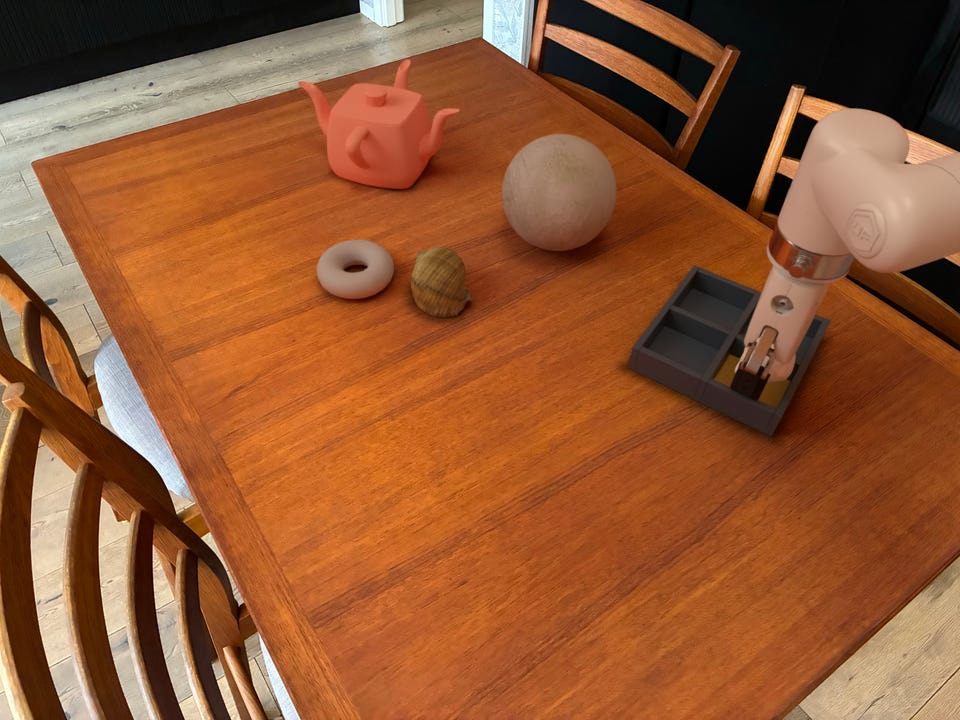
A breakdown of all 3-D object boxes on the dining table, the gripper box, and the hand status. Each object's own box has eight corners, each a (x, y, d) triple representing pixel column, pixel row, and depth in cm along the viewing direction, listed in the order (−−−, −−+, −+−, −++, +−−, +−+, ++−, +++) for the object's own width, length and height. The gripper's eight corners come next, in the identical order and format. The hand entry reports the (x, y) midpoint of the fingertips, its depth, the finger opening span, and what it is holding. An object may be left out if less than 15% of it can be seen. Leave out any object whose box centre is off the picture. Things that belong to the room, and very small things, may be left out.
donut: (354, 245, 100) (302, 283, 94) (351, 224, 98) (297, 262, 92) (410, 273, 96) (359, 315, 91) (409, 253, 94) (356, 295, 88)
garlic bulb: (715, 376, 81) (728, 342, 77) (752, 353, 84) (766, 320, 80) (753, 407, 78) (768, 375, 74) (790, 383, 81) (807, 350, 77)
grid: (820, 341, 89) (831, 320, 86) (771, 437, 79) (781, 417, 76) (687, 285, 95) (694, 264, 92) (627, 367, 85) (632, 347, 83)
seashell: (464, 328, 95) (497, 277, 93) (440, 331, 89) (475, 276, 86) (410, 286, 98) (440, 236, 95) (383, 285, 91) (415, 231, 89)
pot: (418, 125, 121) (414, 51, 111) (461, 180, 110) (460, 104, 101) (310, 150, 115) (296, 75, 106) (344, 211, 105) (331, 133, 96)
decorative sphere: (536, 287, 94) (544, 191, 83) (481, 224, 103) (482, 129, 92) (629, 253, 99) (649, 157, 88) (569, 195, 108) (581, 101, 97)
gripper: (825, 316, 61) (761, 440, 74) (879, 212, 70) (814, 339, 84) (739, 281, 64) (693, 407, 77) (802, 186, 73) (751, 313, 87)
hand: (756, 371), depth 80 cm, fingers closed on garlic bulb, 6 cm apart
